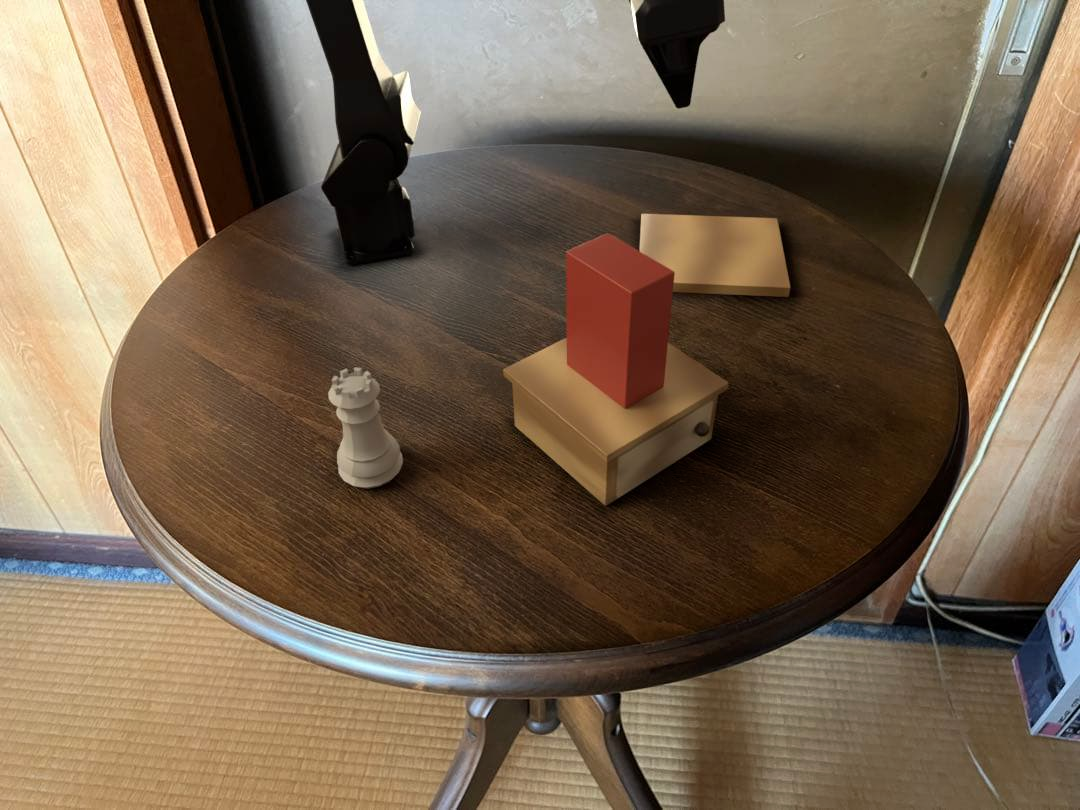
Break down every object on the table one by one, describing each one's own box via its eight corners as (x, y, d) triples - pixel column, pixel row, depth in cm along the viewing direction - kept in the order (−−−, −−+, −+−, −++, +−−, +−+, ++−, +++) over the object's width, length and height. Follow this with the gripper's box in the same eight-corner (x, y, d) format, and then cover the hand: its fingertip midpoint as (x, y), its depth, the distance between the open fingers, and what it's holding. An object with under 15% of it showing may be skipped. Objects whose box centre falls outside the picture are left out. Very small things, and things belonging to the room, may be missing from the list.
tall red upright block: (625, 409, 54) (631, 293, 48) (566, 364, 57) (565, 251, 51) (664, 387, 55) (675, 271, 49) (604, 344, 59) (608, 232, 53)
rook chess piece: (384, 499, 55) (364, 410, 50) (326, 482, 57) (301, 393, 51) (415, 454, 59) (399, 366, 53) (360, 439, 60) (339, 351, 55)
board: (637, 290, 73) (638, 281, 72) (640, 222, 82) (641, 213, 81) (788, 297, 72) (790, 287, 71) (775, 227, 81) (777, 218, 80)
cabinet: (612, 519, 54) (614, 462, 50) (506, 425, 61) (502, 369, 57) (727, 445, 59) (737, 387, 55) (617, 365, 65) (620, 310, 62)
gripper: (798, -130, 52) (799, 109, 62) (740, -173, 66) (749, 28, 76) (622, -87, 54) (651, 140, 64) (602, -138, 68) (629, 54, 78)
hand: (675, 85), depth 70 cm, fingers open, 9 cm apart
